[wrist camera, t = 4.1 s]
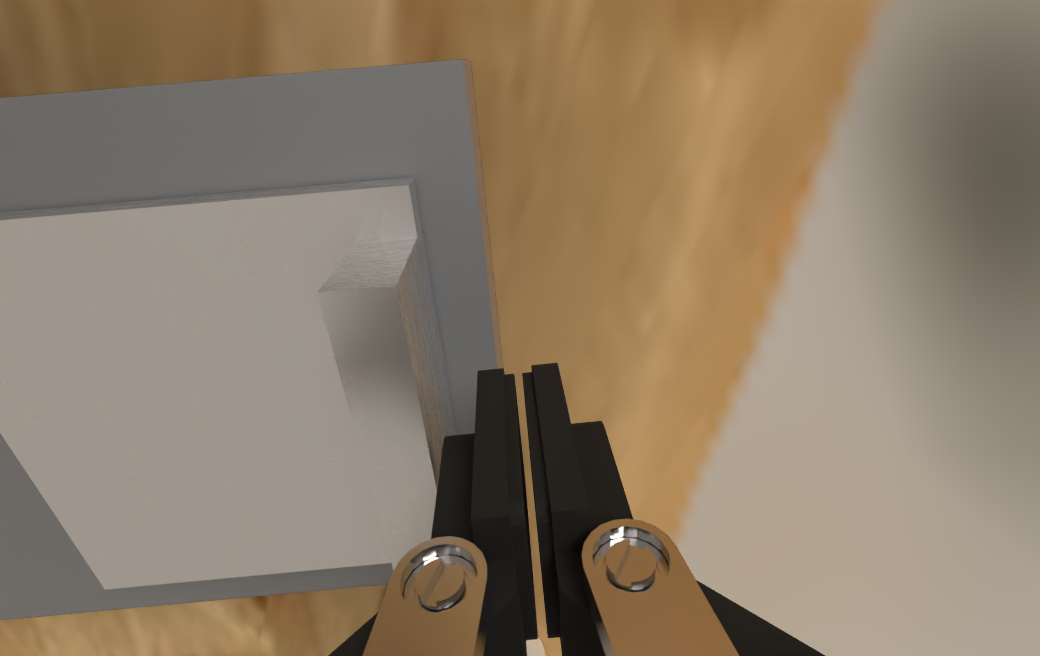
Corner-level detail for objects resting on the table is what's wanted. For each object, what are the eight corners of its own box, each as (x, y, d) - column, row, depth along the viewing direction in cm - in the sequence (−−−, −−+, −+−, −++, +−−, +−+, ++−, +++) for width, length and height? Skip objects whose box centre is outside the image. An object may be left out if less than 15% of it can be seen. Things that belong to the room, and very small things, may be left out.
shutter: (-91, 220, 10) (-326, 283, 7) (414, 177, 10) (383, 221, 7) (123, 564, 15) (31, 688, 12) (472, 532, 15) (467, 646, 12)
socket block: (-330, 128, 13) (-644, 152, 9) (470, 60, 13) (462, 59, 10) (-21, 527, 19) (-137, 632, 16) (514, 479, 19) (520, 571, 16)
